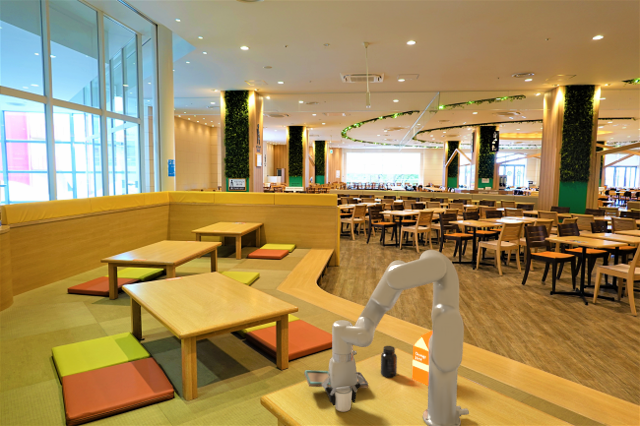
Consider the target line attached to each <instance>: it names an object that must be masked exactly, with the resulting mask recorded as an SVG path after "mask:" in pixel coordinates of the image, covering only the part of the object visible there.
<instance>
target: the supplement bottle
mask: <svg viewBox="0 0 640 426" xmlns="http://www.w3.org/2000/svg"><path fill="white" fill-rule="evenodd" d="M397 366H398V356H397V354H396V348H395V347H394V346H393V345H385V346H384V347H383V352H382V353H381V354H380V375H382V377H384V378H388V379H392V378H394V377H396V376H397V371H398V370H397V368H398V367H397Z"/></svg>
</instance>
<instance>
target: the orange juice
mask: <svg viewBox="0 0 640 426" xmlns="http://www.w3.org/2000/svg"><path fill="white" fill-rule="evenodd" d="M432 332H433V330H431V331H428V332H427V333H426V332H425V333H424V334H422V335H420V337H419V338H418V339H417V341H416V342H415V343H414V344H413V346H412V380H413V381H416V382H419V383H421V384H423V385H426V386H428V376H429V339H430V337H431V335H432Z"/></svg>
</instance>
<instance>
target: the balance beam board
mask: <svg viewBox="0 0 640 426" xmlns="http://www.w3.org/2000/svg"><path fill="white" fill-rule="evenodd" d="M328 372H329V370H310V369H309V370H307V369H306V370H305V371H304V378H305V379H306V382H307V385H308V387H315V388H318V387H319V388H323V387H322V385H321V383H322V382H323V381H324V380H325V379H326V378H327V377H328ZM357 374H358V375H360V376H361V377H362V378H363V379H364V381H363V383H362V384H361V386H360V387H359V388H358V389H369V383H368V381H367V380H366V378H365V377H364V375H363V374H362V372H360V371H357ZM357 382H358V379H357ZM327 386H328V387H330V386H331V384H330V383H328V384H327ZM350 387H351V386H350ZM351 388H352V387H351Z"/></svg>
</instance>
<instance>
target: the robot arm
mask: <svg viewBox="0 0 640 426" xmlns="http://www.w3.org/2000/svg"><path fill="white" fill-rule="evenodd" d="M459 279H460V278H459V275H458V271H457V269H456V267H455V265H454V264H453V262H452V261H451V260H450V259H449V257H448V256H446V255H445V254H443V252H440V251H439V250H435V249H428V250H427V249H426V250H425V251H423V252H422V253H421V254H420V256H419V258H418V259H415V260H412V261H409V262H406V261H403V260H399V259H398V260H394V261H392V262H390V263H389V265H388V266H387V268H386V269H385V271H384V273H383V274H382V276H381V277H380V280H379V282H378V283H377V285H376V287H375V289H374V290H373V291H372V294H370V297H369V299H368V301H367V303H366V304H365V307H364V308H363V309H362V311H361V313H360V314H359V316H358V318H357V320H356V322H355V324H354V325H353V324H352V322H350V321H348V320H344V319H342V320H341V319H339V320H336V321H334V322H333V323H332V325H331V326H332V328H331V333H332V334H331V335H332V338H331V339H332V340H331V341H332V342H331V343H332V344H331V345H332V347H331V350H332V351H331V352H332V353H331V354H332V356H331V358H329V363H328V377H327V378H326V379H325V380H324V381H323V382H322V383H321V385H322V387H321V388H323V389H324V390H325V389H326V390H325V392H326V391H327V392H329V393H330V399H329V402H330V403H331V404H332V406H334V407H335V394H334V392H335V390H336V388H341V387H348V386H351V387H352V398H351V403H352V404H353V403H354V404H355V403H356V399H357V392H358V389H360V388H359V387H360V386H361V384H362V383H363V381H364V379H363V378H362V377H361V376H360V375H358V374H357V372H358V371H357V364H356V359H355V356H356V355H357V350H354V346H355V347H359V348H366V347H369V346H371V344H372V342H373V341H374V336H375V332H376V329H377V327H378V325H379V324H380V322H381V321H382V319H383V317H384V315H386V314H387V312H388V311H390V310H392V309H393V308H394V307H395V304H396V303H397V302H398V299H399V298H400V296H401V294H402V292H403V291H405V290H409V289H413V288H414V289H415V288H417V287H418V288H419V287H421V286H424V285H428V284H432V293H433V294H432V308H431V313H430V315H431V317H430V318H431V323H432V331H433V332H432V335H431V337H430V339H429V376H428V387H427V388H428V389H427V392H428V393H427V409H425V410H424V411H423V413H422V419H423V421H424V423H425V424H426V425H428V426H461V424H462V423H461V422H462V421H461V417H462V416H466V415H469V413H470V411H469V409H468V408H462V406H461V405H457V396H458V392H457V391H458V372H459V371H458V369H459V367H460V366H461V365H462V361H463V352H464V336H465V327H464V320H463V317H462V315H461V313H460V280H459ZM357 379H358V382H357ZM328 383H330V384H331V386H330V388H329V387H328V386H327V384H328Z"/></svg>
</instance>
